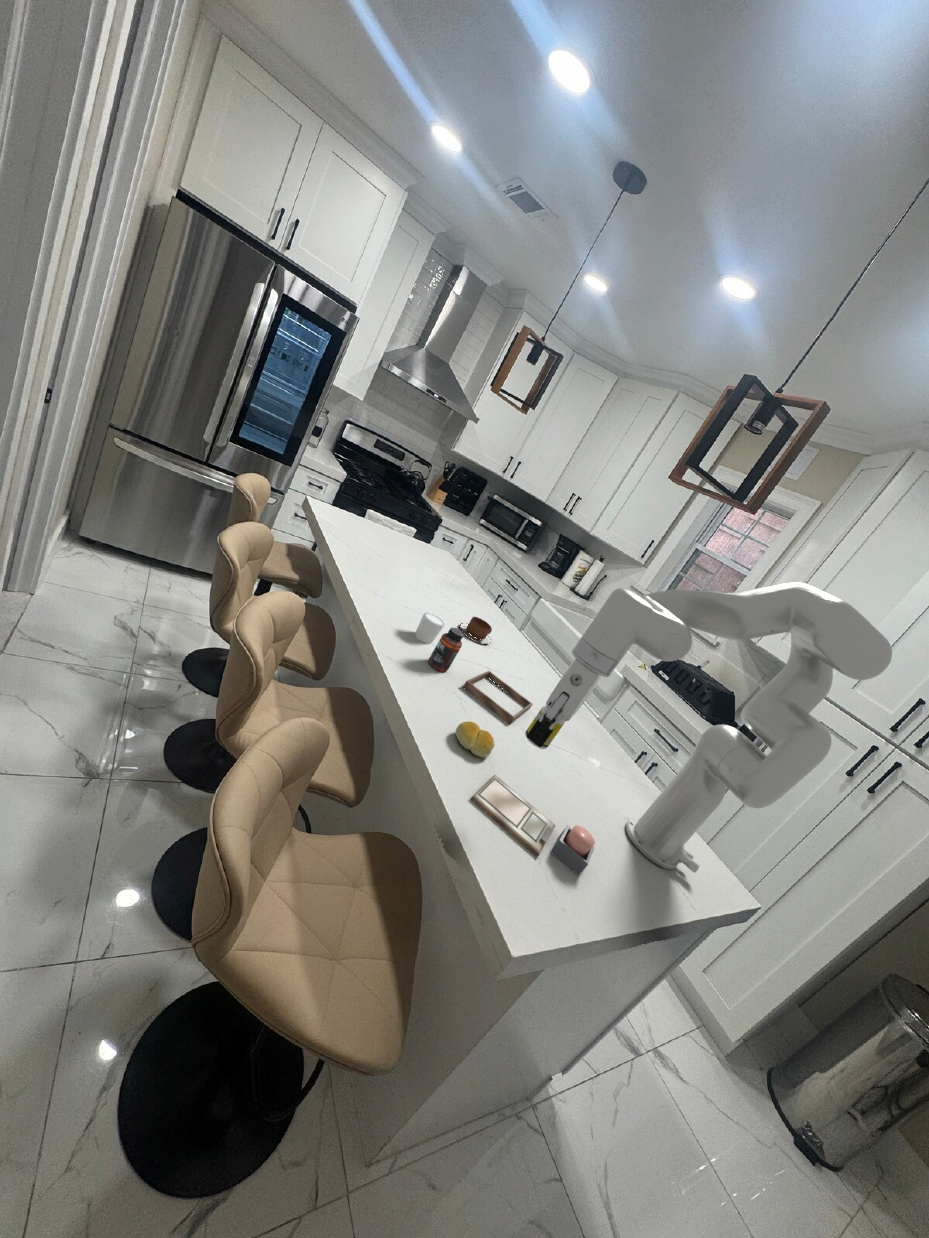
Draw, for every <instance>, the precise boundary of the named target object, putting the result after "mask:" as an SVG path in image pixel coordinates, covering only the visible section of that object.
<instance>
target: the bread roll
mask: <svg viewBox="0 0 929 1238" xmlns="http://www.w3.org/2000/svg"><path fill="white" fill-rule="evenodd" d="M455 735H456V738H457V740H458V741H459V743H460V744H461V746H462V747H463V748H464V749H466V750H470V751H471V753H472V754H473V755H474V756H477V757H479V758H484V759H485V758H488V757H489V756H490V754H491V753H492V751H493V749H494V748H495V745H496V744H495V738H494V737H493V736H492V734H491V733H490V731H487V730H485V729H481V728H480V727H479V725H478V724H477V723H476V722H473V721H470V720H469V721H463V722H461V723H459V724H458V725H457V727H456V729H455Z"/></svg>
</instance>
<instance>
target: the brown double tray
mask: <svg viewBox="0 0 929 1238" xmlns="http://www.w3.org/2000/svg"><path fill="white" fill-rule="evenodd" d="M470 800H471V801H472V802H473V803H474V804H475V805H476V806H478V807H479V808H480V809H481V810H483V811H484V813H486V814H487V815H488V816H489V817H490V818H491V819H493V820H494V821H495V822H496V823H497V824H498V825H500V826H501V827H502V828H503V829H504V830H505V831H506V832H508V834H510V835H511V836H512V837H514V839H515V840H517V841H519V843H520V844H521V845H523V846H524V847H525V848H526V849H527V850H528V851H530V853H532V854H533V855H534V856H535V857H536V858H538V857H539V856H540V855H541V853H542V852H543V850H544V848H545V845H546V844H547V842H548V840H549V839H550V838H551V837H550V836H551V835H552V833H553V832H554V830H555V828H556V826H557V825H556V824H555V823H553V822H552V821H551V820H550V819H549V818H548V817H546V816H545V815H544V814H543V813H541V812H540V811H539V810H538V809H537V808H536V807H534V806H533V804H531V803H530V802H529V801H527V800H526V799H525V798H524V797H523V796H521V795H520V794H519V793H518V792H517V791H515V789H513V788H511V787H510V786H509V785H508V784H507V783H505V782H504V781H503V780H502V779H501V778H500V777H498V776H497V775H496V774H495V773H494V774H493V775H492V776H491V777H490V778H489V779H488V780H487V781H486V782H485V783H484V784H483V785H482V786H481V787H480V788H479V789H477V791H476V792H475V793H474V794H473V795H472V796H471V797H470Z"/></svg>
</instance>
